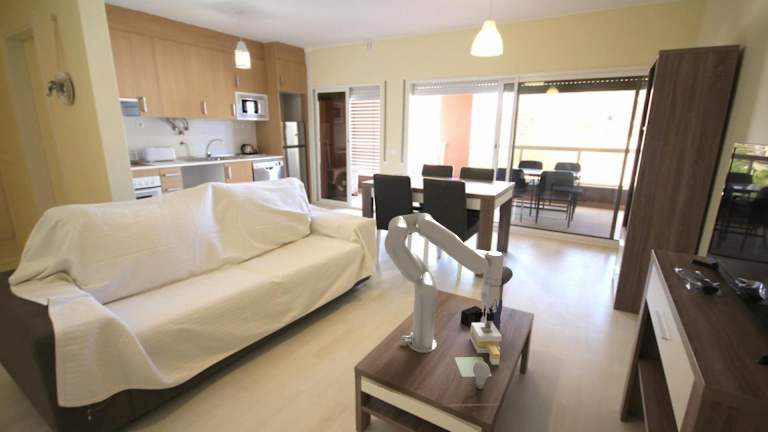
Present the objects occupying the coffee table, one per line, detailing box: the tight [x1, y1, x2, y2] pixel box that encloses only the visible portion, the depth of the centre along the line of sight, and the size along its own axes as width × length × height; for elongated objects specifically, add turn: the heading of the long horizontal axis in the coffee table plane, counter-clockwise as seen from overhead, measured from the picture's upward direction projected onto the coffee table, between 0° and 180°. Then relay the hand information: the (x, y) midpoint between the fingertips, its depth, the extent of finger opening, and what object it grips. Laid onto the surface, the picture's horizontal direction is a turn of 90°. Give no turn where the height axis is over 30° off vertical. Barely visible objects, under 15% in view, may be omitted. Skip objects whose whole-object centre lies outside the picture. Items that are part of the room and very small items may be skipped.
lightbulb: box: [473, 361, 491, 390], centre depth 132 cm, size 6×6×11 cm
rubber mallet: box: [492, 266, 514, 327], centre depth 173 cm, size 12×8×30 cm, turn 141°
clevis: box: [469, 322, 503, 366], centre depth 154 cm, size 10×19×8 cm, turn 3°
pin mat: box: [454, 356, 492, 378], centre depth 145 cm, size 12×12×1 cm
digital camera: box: [460, 305, 484, 327], centre depth 178 cm, size 10×5×7 cm, turn 124°
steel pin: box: [483, 307, 493, 329], centre depth 155 cm, size 4×4×14 cm
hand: (488, 318), depth 155 cm, fingers closed on steel pin, 3 cm apart
